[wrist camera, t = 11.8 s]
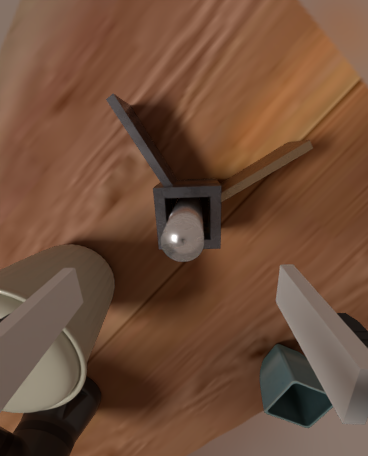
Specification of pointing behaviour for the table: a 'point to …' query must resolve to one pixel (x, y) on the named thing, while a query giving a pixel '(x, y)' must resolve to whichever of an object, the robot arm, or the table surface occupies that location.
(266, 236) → the table surface
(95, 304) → the canister
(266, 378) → the flower pot
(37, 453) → the robot arm
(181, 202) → the hinge pin
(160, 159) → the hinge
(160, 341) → the table surface
